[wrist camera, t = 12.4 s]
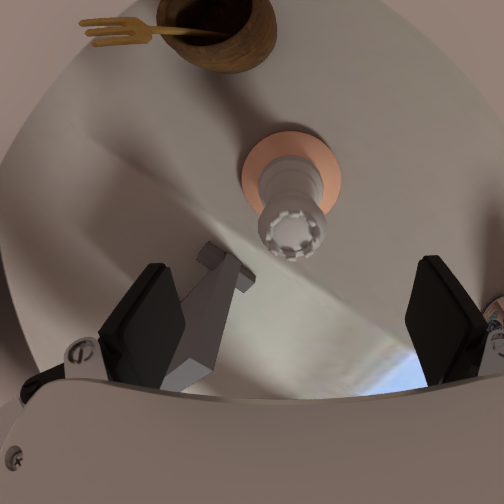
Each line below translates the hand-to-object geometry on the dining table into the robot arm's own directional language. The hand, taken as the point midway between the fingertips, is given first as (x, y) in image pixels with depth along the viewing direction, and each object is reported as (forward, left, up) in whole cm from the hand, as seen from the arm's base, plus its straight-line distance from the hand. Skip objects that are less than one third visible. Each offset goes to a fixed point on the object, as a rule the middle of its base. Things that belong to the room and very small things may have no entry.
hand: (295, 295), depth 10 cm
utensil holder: (+6, +10, -12) cm, 17 cm away
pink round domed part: (+1, +1, -12) cm, 12 cm away
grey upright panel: (-12, 0, -12) cm, 17 cm away
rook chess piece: (0, +1, -11) cm, 11 cm away
